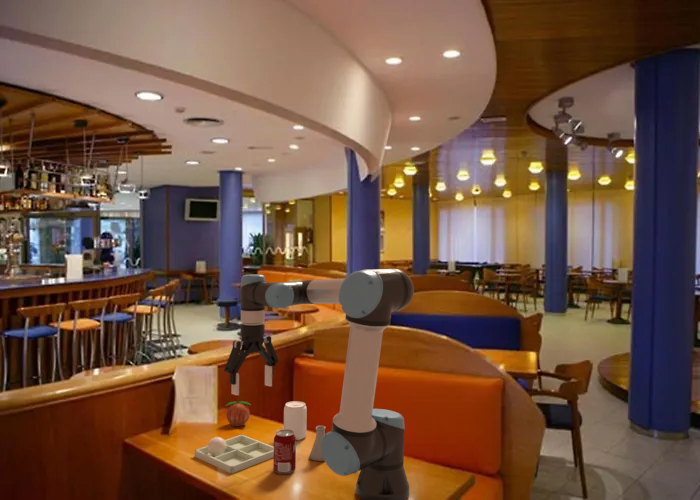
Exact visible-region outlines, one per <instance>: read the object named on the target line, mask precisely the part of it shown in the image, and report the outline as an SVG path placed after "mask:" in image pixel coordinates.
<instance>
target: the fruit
mask: <svg viewBox="0 0 700 500" xmlns="http://www.w3.org/2000/svg"><path fill="white" fill-rule="evenodd" d="M248 405H249V406H251V405H252V404H251V403H249V402H248V401H243V400H241V401H240V398H238V399H237V401H230V402H228V403H227V404H225V405H224V406H226V407H227V406H228V408H227V411H226V418H227V422H228V423H229V424H230V425H231V426H233V427H241V426H244V425H245V424H247V422H248V421H249V418H250V414H251V413H250V408H249V406H248Z"/></svg>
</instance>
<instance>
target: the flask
mask: <svg viewBox="0 0 700 500" xmlns="http://www.w3.org/2000/svg"><path fill="white" fill-rule="evenodd" d="M326 428H327V427H326V426H324V425H317V426H316V427H315V430H316V431H315V432H316V434H315V439H314V443H313V446H312V447H311V450H310V453H309V455H308V459H310V460H313V461H315V462H326V461H325V460H324V458H323V456H322V452H321V441H322V438H323V437H324V435H326V433H325V432H326V431H325V430H326Z"/></svg>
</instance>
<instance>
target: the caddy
mask: <svg viewBox="0 0 700 500" xmlns="http://www.w3.org/2000/svg"><path fill="white" fill-rule="evenodd" d="M224 440H225V442H226V450H225V452H224V453H223V454H222V455H219V456H216V457H214V456H212V455H210V454H209V452H208V449H207V446H208V445H206V446H203V447H200V448H197V449H194V457H195V458H197V459H199V460H201V461H203V462H205V463H208V464H210V465H212V466H214V467H217V468H219V469H221V470H223V471H225V472H227V473H229V474H232V475H233V474H235V473H238V472H240V471H242V470H245V469H247V468H250V467H253V466H255V465H257V464H260V463H264V462H265V461H267V460H271V459H272V458H273V459H274V445H270V444H267V443H266V442H263V441H260V440H257V439H254V438H252V437H249V436H247V435H245V434H239V435H236V436H232V437H230V438H227V439H224Z"/></svg>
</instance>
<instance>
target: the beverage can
mask: <svg viewBox="0 0 700 500" xmlns="http://www.w3.org/2000/svg"><path fill="white" fill-rule="evenodd" d="M307 408H308V407H307V406H306V403H305V402H303V401H298V400H296V401H295V400H294V401H293V400H292V401H288V402H286V403H285V405H284V408H283V429H289V430H292V431H294V435H295V437H296V441H301V440H302V439H304V438H306V437H307V418H308V417H307V412H308V411H307Z"/></svg>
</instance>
